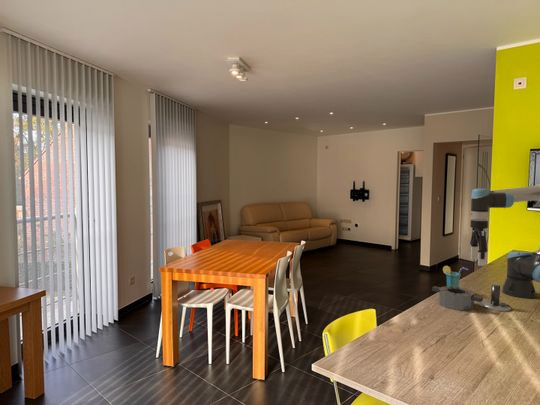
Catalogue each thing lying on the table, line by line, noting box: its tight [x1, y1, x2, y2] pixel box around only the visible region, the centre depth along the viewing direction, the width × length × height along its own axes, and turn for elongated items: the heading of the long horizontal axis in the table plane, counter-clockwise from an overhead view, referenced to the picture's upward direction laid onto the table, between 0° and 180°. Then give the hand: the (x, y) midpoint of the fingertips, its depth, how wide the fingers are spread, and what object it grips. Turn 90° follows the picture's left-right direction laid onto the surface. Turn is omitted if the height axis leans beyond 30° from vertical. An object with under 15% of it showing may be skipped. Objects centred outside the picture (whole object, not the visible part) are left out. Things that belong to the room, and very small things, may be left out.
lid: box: [478, 284, 512, 313], centre depth 178 cm, size 13×13×10 cm
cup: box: [442, 265, 470, 287], centre depth 199 cm, size 14×8×15 cm, turn 44°
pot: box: [431, 285, 484, 311], centre depth 180 cm, size 23×15×7 cm, turn 42°
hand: (477, 262), depth 182 cm, fingers open, 13 cm apart
